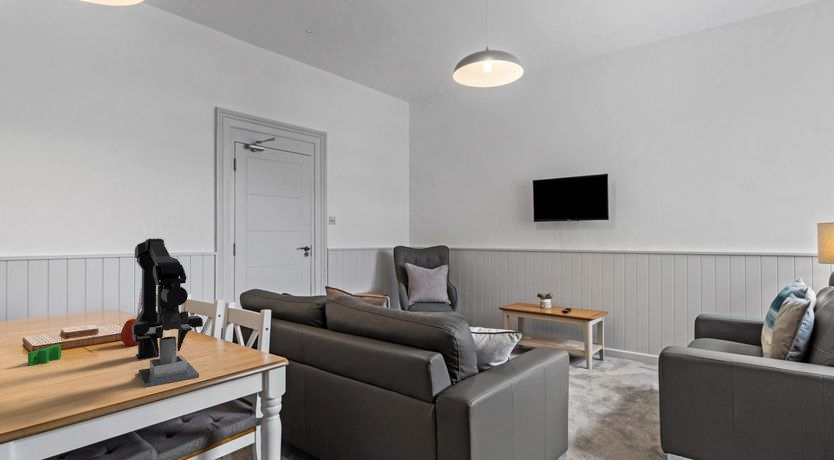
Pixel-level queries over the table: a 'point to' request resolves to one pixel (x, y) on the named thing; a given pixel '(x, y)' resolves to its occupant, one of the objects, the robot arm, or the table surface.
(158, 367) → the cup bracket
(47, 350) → the pipe clamp
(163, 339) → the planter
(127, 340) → the apple
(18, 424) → the table surface
